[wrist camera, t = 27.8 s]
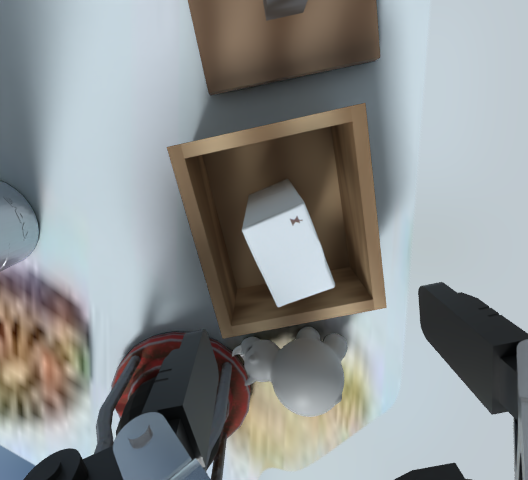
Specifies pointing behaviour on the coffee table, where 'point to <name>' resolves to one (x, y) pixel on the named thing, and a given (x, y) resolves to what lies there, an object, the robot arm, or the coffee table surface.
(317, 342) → the round bodied animal figurine
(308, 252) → the skincare box
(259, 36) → the lid
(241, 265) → the open wooden box
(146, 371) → the hourglass
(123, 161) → the coffee table surface
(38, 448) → the coffee table surface
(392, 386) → the coffee table surface
